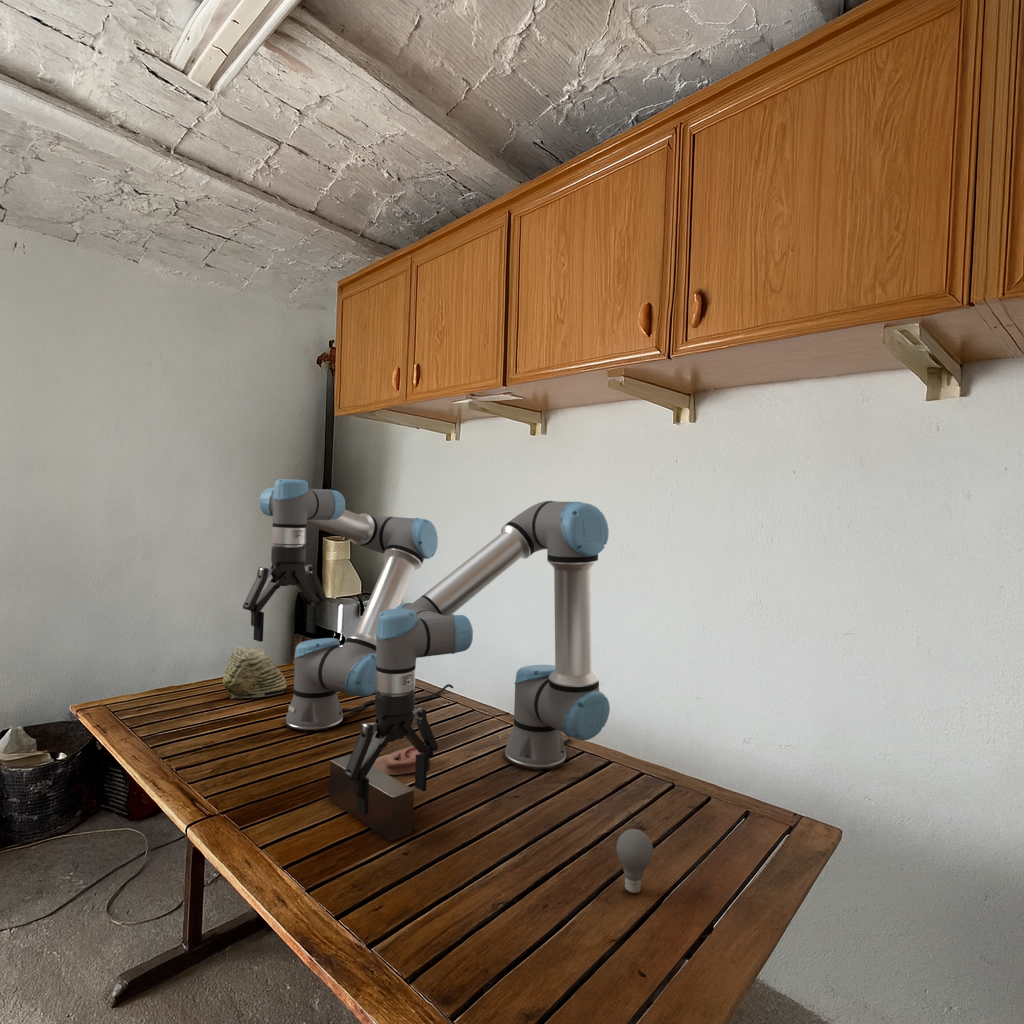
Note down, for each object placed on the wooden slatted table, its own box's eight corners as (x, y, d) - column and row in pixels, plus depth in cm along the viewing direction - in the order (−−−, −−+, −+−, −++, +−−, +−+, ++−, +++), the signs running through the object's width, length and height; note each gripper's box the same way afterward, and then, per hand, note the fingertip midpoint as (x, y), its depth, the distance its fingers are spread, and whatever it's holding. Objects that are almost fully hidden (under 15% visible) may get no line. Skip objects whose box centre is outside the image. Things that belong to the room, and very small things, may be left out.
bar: (328, 799, 133) (330, 760, 132) (349, 792, 136) (350, 754, 136) (391, 842, 118) (393, 797, 117) (412, 832, 121) (414, 789, 121)
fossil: (218, 695, 195) (220, 647, 195) (278, 685, 208) (279, 640, 207) (228, 703, 189) (230, 653, 188) (289, 692, 201) (290, 645, 201)
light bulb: (610, 879, 108) (613, 822, 108) (644, 879, 109) (647, 822, 109) (619, 902, 102) (622, 840, 102) (655, 901, 103) (658, 840, 103)
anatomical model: (361, 754, 146) (381, 736, 157) (360, 771, 146) (380, 752, 157) (415, 762, 143) (432, 743, 155) (415, 779, 143) (431, 759, 155)
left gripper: (246, 548, 135) (242, 647, 136) (343, 545, 155) (339, 631, 155) (228, 545, 140) (225, 641, 140) (325, 542, 160) (321, 626, 160)
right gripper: (349, 710, 110) (346, 831, 110) (457, 682, 128) (454, 786, 129) (326, 700, 115) (324, 815, 116) (433, 674, 133) (430, 774, 134)
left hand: (285, 636), depth 148 cm, fingers open, 13 cm apart
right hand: (392, 800), depth 122 cm, fingers open, 13 cm apart
